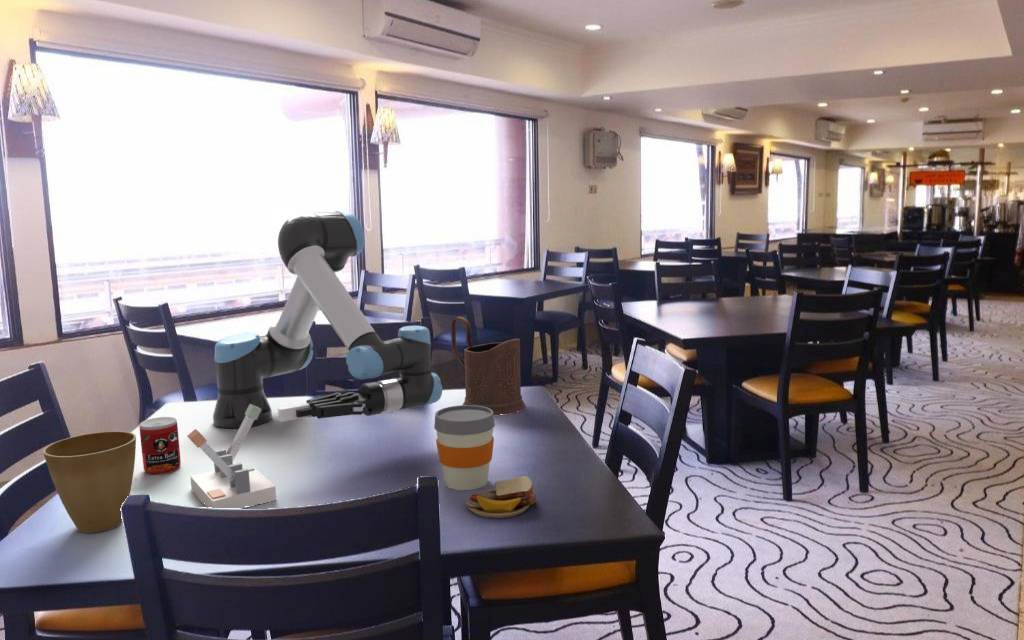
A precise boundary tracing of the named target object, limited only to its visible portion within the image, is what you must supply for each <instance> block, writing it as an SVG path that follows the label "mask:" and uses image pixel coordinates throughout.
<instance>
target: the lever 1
mask: <svg viewBox="0 0 1024 640" xmlns="http://www.w3.org/2000/svg"><path fill="white" fill-rule="evenodd" d="M186 437H187V438H188V439H189V441H190V442H192V443H193V444H194V445H195V446H196V447H197V448H198V449H201V450H202V451H203V453H204V454H206V456H207V457H208V458H209V459H210V460H211V461H212V462H213V464H214V463H215V464H216V465H217V466H218V467H219V468H220V469H221V471H222V472H223V473H224V474H225V475H226V476H227V477H228V478H229V479H230V480H231V481H232V482H233V483H234V484H235V485H236V483H235V473H234V472H233V471H232V470H231V468H230V467H229V466H228V465H227V464H226V463H225V462H224V461H223V460H222V459H221V458H220V457H219V456H218V454H217V453H216V452H215V451H216V450H214V448H213V447H211V446H210V445H209V443H207V441H208V440H207V439H206V438H205V437H204V436H203V434H201V433H200V431H199V430H198V429H196V428H195V429H193V430H192V431H191V432H190V433H189V434H188V435H186Z"/></svg>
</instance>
